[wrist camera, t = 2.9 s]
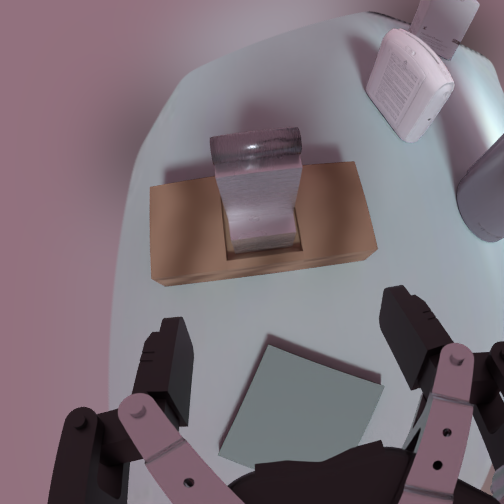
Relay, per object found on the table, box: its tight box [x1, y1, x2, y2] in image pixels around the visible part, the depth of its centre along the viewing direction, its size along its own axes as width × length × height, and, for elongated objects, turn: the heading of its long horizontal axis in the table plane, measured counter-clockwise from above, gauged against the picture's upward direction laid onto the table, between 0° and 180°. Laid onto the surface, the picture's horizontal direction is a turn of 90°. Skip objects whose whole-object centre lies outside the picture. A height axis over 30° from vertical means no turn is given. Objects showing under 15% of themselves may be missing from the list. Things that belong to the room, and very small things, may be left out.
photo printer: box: [366, 28, 455, 143], centre depth 29 cm, size 10×4×12 cm, turn 23°
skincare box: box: [409, 0, 479, 60], centre depth 33 cm, size 8×6×15 cm
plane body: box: [150, 161, 378, 286], centre depth 29 cm, size 20×9×4 cm, turn 97°
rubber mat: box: [218, 344, 384, 469], centre depth 25 cm, size 12×12×1 cm
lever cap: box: [210, 127, 303, 254], centre depth 22 cm, size 5×6×12 cm
